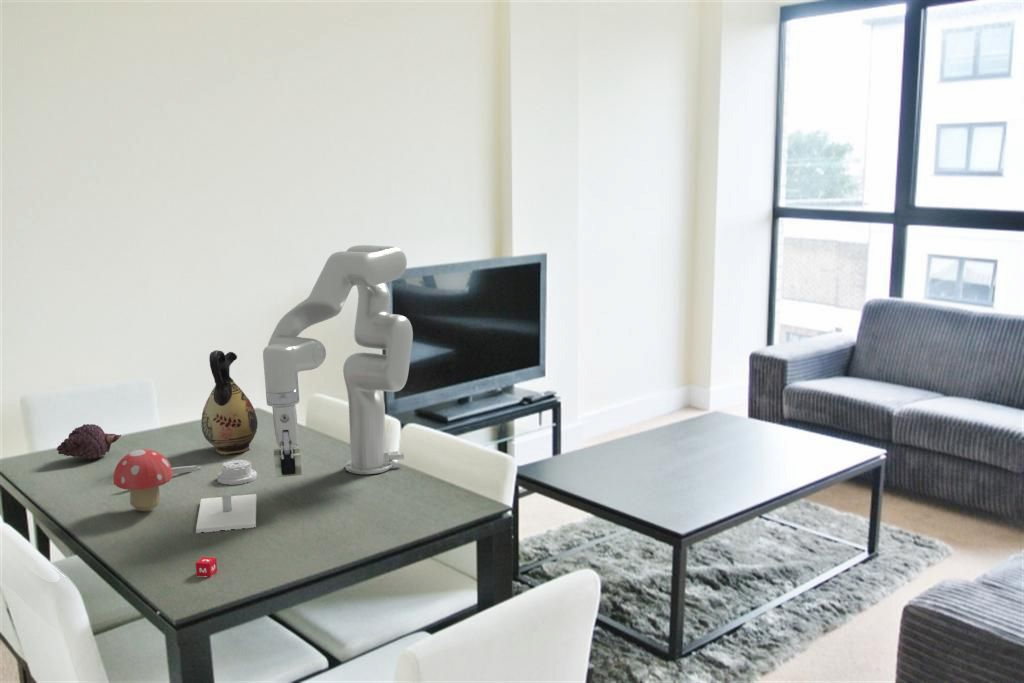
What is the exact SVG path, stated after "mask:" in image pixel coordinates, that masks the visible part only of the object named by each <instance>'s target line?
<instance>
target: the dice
mask: <svg viewBox="0 0 1024 683" xmlns="http://www.w3.org/2000/svg"><path fill="white" fill-rule="evenodd" d="M216 571H217V572H218V562H217V557H209V556H208V557H207V556H202V557H200V558H199V560H197V561H196V562H195V572H196V573H195V575H196V577H197V576H207V577H206V578H209V577H211V576H212V575H213V574H214V573H215V572H216ZM217 572H216V573H217ZM216 573H215V574H216ZM215 574H214V575H215ZM214 575H213V576H214ZM213 576H212V577H213ZM212 577H211V578H212Z"/></svg>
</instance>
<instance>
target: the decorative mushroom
mask: <svg viewBox="0 0 1024 683" xmlns="http://www.w3.org/2000/svg"><path fill="white" fill-rule="evenodd" d="M172 468H173V467H172V465H171V463H170V461H169V460H168V459H167V457H165V456H164V455H163V454H162V453H160V452H158V451H156V450H152V449H146V448H145V449H136V450H134V451H131V452H129V453H127V454H125V455H124V456H123V457H122V458H121V459H120V461H119V462H118V463H117V464H116V466H115V468H114V472H113V477H112V478H113V484H114V486H116V487H117V488H119V489H123V490H128V491H129V496H130V497H129V502H130V505H131V506H132V507H133V508H135V510H139V511H141V512H149V511H151V510H153V509H154V508H156V507H157V505H159V503H161V494H160V488H159V486H162V485H165V484H167V483H168V482H170V481H171V480H172V478H173V477H174V474H173V471H172Z"/></svg>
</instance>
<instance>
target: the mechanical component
mask: <svg viewBox="0 0 1024 683" xmlns="http://www.w3.org/2000/svg"><path fill="white" fill-rule="evenodd" d="M257 475H258V474H257V471H256V470H255V469H253V468H252V463H251V461H247V459H245V460H244V459H237V460H230V461H227V462H226V461H225V462H223V463H222V464H221V472H219V473H218V474H217V477H216V478H217V482H218V484H222V485H226V484H229V485H228V486H233V485H234V486H236V485H243V483H244V484H248V483H251V482H253V481H255V480H256V479H257ZM247 482H248V483H247Z"/></svg>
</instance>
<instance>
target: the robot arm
mask: <svg viewBox="0 0 1024 683" xmlns="http://www.w3.org/2000/svg"><path fill="white" fill-rule="evenodd" d="M407 264H408V263H407V257H406V254H405V252H404V251H403V250H402V249H401V248H399V247H397V246H392V245H391V246H387V245H371V244H370V245H367V244H363V245H362V244H361V245H353V246H351V247H349V248H348V249H346V251H343V250H342V251H336V252H333V253H331V255H330V256H329V257H328V258H327V260H326V261H325V263H324V265H323V268H322V270H321V272H320V273H319V275H318V277H317V279H316V282H315V284H314V286H313V287H312V290H311V291H310V294H309V295H308V297H307V298H306V299H304V300H303V301H301V302H300V303H298V304H296V306H294V307H292V308H291V310H289V311H288V312H286V314H284V315H283V316H282V318H280V320H279V321H278V323H277V324H276V326H275V328H274V329H273V330H274V331H273V332H272V334H271V335H270V336H271V337H270V338H269V341H268V343H267V346H265V347H264V348H263V350H262V351H263V352H262V360H263V369H264V370H263V371H264V372H263V373H264V375H263V376H264V383H265V384H264V386H265V397H266V405H267V406H269V407H272V417H273V427H274V433H275V438H276V440H275V441H276V444H277V447H279V449H281V458H280V459H281V472H282V475H290V474H295V473H296V471H295V458H294V457H293V447H294V446H295V447H298V446H299V444H300V442H299V430H298V414H297V406H296V405H297V404H299V403H300V402H301V401H300V390H299V388H300V387H299V376H298V375H299V374H298V373H299V372H306V371H312V370H316V369H317V368H319V367H320V366H322V364H323V363H324V361H325V359H326V356H327V353H326V352H327V351H326V347H325V345H324V344H323V343H322V342H321V341H319V340H317V339H314V338H308V337H300V336H299V335H301V333H302V332H303V331H305V330H306V329H308V328H309V327H311V326H314V325H316V324H319V323H322V322H325V321H327V320H329V319H333V318H334V317H336V316H338V315H339V314H340V312H341V311H342V309H343V307H344V305H345V303H346V300H347V298H348V296H349V295H350V292H351V290H352V289H353V287H354V286H356V287H357V295H358V296H357V297H358V298H357V308H356V317H355V324H354V331H353V332H354V334H353V335H354V336H353V337H354V341H355V343H356V344H357V345H358V346H360V347H363V348H366V349H376V350H386V354H379V353H374V352H373V353H372V352H355V353H353V354H351V355H350V356H348V357H347V358H346V359H345V361H344V364H343V369H342V370H343V379H344V382H345V387H346V392H347V398H348V399H347V401H348V420H349V422H348V424H349V444H350V445H349V446H350V460H349V461H347V462H346V463H345V466H344V467H345V470H346V471H348V472H349V473H351V474H355V475H377V474H382V473H384V472H387V471H389V470H391V469H392V467H393V461H397V460H398V461H401V460H404V458H405V455H404V452H403V451H402V452H399V451H398V450H394V451H389V450H388V448H387V444H386V441H387V440H386V436H387V435H386V414H385V413H386V410H385V407H386V406H385V405H386V404H385V401H384V398H383V395H382V394H381V391H382V392H392V393H396V392H399V391H401V390H402V389H403V388H405V385H406V383H407V381H408V376H409V373H410V372H409V370H410V364H411V354H412V350H413V348H412V347H413V340H414V338H413V337H414V332H413V326H412V324H411V321H410V320H409V318H407V316H404V315H403V314H402V315H401V314H395V313H390V308H391V307H390V306H391V291H390V289H389V287H388V285H387V283H389V282H392V281H395V280H398V279H400V278H401V277H402V276H403V275H404V273H405V271H406V270H407ZM283 448H284V450H283ZM290 448H291V450H290Z"/></svg>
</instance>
